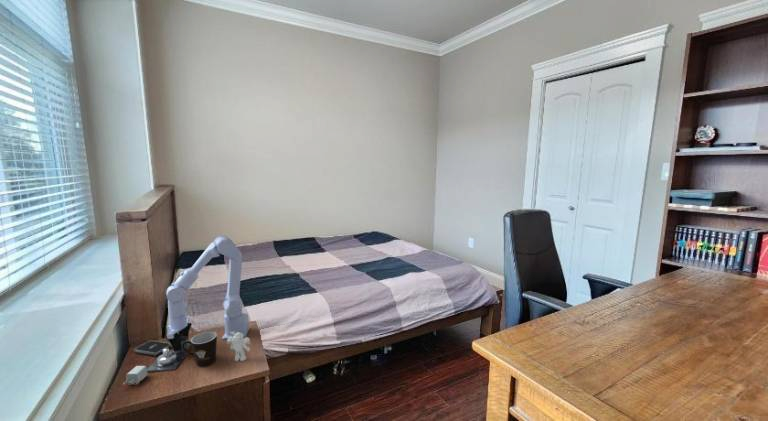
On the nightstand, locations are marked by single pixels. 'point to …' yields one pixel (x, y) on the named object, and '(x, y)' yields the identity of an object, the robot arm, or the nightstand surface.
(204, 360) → the coffee mug
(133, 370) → the usb wall charger
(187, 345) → the ring
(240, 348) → the hat wearing toy figure
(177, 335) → the robot arm
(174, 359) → the silver sculpture on base
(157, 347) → the external hard drive
